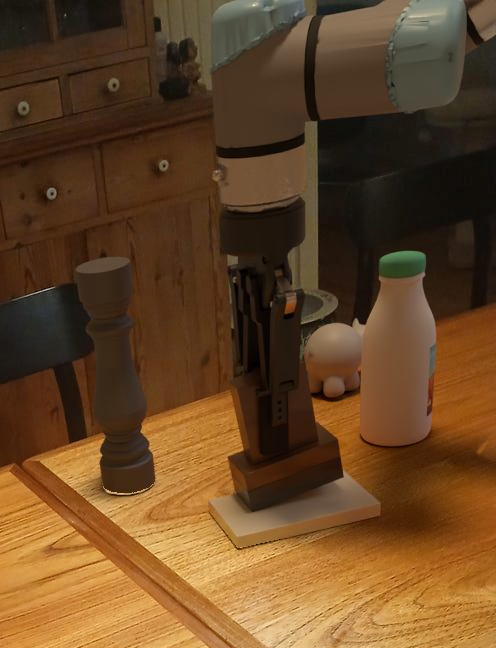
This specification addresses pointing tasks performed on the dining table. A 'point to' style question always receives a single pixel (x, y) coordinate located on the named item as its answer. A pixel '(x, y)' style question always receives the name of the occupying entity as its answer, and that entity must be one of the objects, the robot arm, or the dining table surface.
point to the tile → (295, 512)
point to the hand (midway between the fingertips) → (268, 445)
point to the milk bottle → (398, 356)
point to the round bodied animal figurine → (334, 358)
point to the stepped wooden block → (288, 466)
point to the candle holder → (116, 375)
